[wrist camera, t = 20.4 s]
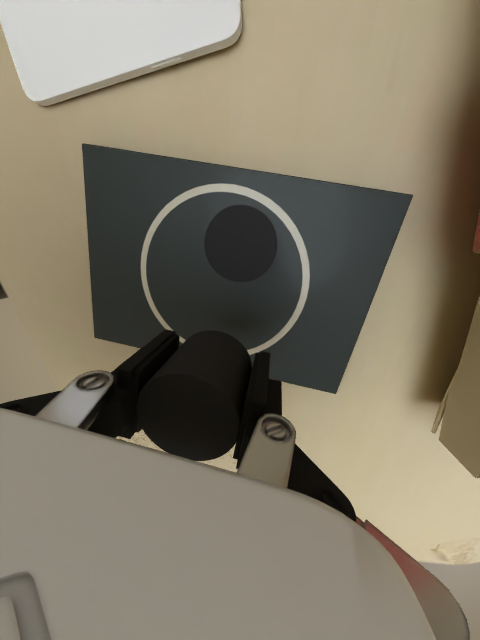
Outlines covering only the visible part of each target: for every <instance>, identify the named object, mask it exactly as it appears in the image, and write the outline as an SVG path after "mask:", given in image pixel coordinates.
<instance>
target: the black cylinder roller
mask: <svg viewBox="0 0 480 640" xmlns="http://www.w3.org/2000/svg"><path fill="white" fill-rule="evenodd" d="M251 371H252V362H251V358H250V355H249V353H248V351H247V350H246V348H245V347H244V346H243V345H242V343H240V342H239V341H238V340H237V339H236V338H234V337H233V336H231V335H229V334H227V333H224V332H221V331H215V330H207V331H201V332H198V333H195V334H193V335H192V336H190V337H189V338H188V339H187V340H186V341H185V342H184V343H183V344H182V345H181V346H180V347H179V348H178V349H177V350H176V351H175V353H174V354H173V355H172V356H171V357H170V358H169V359H168V360H167V361H166V362H165V363H164V365H163V366H162V367H161V368H160V369H159V370H158V371H157V372H156V373H155V374H154V375H153V377H152V378H151V379H150V380H149V381H148V382H147V383H146V384H145V385H144V386H143V388H142V389H141V391H140V393H139V395H138V399H137V404H136V411H137V417H138V420H139V423H140V425H141V427H142V429H143V430H144V432H145V434H146V435H147V436H148V437H149V438H150V439H151V440H152V441H153V442H154V443H155V444H156V445H157V446H158V447H160V448H161V449H163V450H164V451H166V452H168V453H170V454H173V455H176V456H180V457H183V458H187V459H190V460H194V461H206V460H212V459H215V458H218V457H220V456H222V455H224V454H226V453H227V452H228V451H229V450H230V449H231V448H232V447H233V446H234V445H235V443H236V441H237V439H238V436H239V431H240V423H241V419H242V414H243V409H244V404H245V400H246V395H247V390H248V385H249V381H250V376H251Z"/></svg>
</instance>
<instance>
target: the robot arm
mask: <svg viewBox="0 0 480 640" xmlns="http://www.w3.org/2000/svg"><path fill="white" fill-rule="evenodd" d="M179 339H180V336H179V335H177V332H176V331H171V330H167V329H165V330H164V331H162V332H161V333H160V334H159V335H157V336H156V337H155V338H154V339H152V340H151V341H150V342H148V343H147V344H146V345H145V346H143V347H142V348H141V349H140V350H138V351H137V352H136V353H135V354H133V355H132V356H131V357H130V358H128V359H127V360H126V361H125V362H123V363H122V364H121V365H119V366H118V367H117V368H116V369H115V370H114V371H113V372H111V373H110V372H107V371H100V370H97V371H90V372H86V373H83V374H81V375H79V376H78V377H76V378H75V379H74V380H73V381H72V382H71V383H69V384H68V385H67V386H66V387H65V388H64V389H63V390H62V391H57V392H53V393H47V394H43V395H38V396H34V397H28V398H24V399H19V400H15V401H10V402H6V403H2V404H0V640H470V631H469V627H468V623H467V619H466V617H465V615H464V613H463V611H462V609H461V607H460V605H459V603H458V602H457V600H456V599H455V598H454V596H453V595H452V593H451V592H450V591H449V589H447V587H445V586H444V585H443V584H442V583H441V582H440V581H439V580H438V579H437V578H436V577H435V576H434V575H433V574H431V573H430V572H429V571H428V570H426V569H425V568H424V567H423V566H422V565H421V564H419V563H418V562H417V561H416V560H415V559H413V558H412V557H411V556H410V555H409V554H407V553H406V552H405V551H404V550H403V549H401V548H400V547H399V546H398V545H397V544H395V543H394V542H393V541H392V540H391V539H389V538H388V537H387V536H386V535H385V534H383V533H382V532H381V531H380V530H379V529H377V528H376V527H375V526H374V525H372V524H371V523H370V522H369V521H368V520H365V522H363V521H362V520H360V519H359V518H358V517H357V516H356V514H355V511H354V508H353V506H352V504H351V503H350V501H349V500H348V498H347V497H346V496H345V495H344V493H343V492H342V491H341V490H340V489H339V488H338V487H337V486H336V485H335V484H334V483H333V482H332V481H331V480H330V479H329V478H328V477H327V476H326V475H325V474H324V473H323V472H322V471H321V470H320V469H319V468H318V467H317V466H316V465H315V464H314V463H313V462H312V461H311V459H310V458H309V457H308V456H307V455H306V454H305V453H304V452H303V451H302V450H301V449H300V448H299V447H298V446H297V445H296V444H295V439H296V431H295V428H294V426H293V425H292V423H291V422H290V421H289V420H287V419H286V418H285V417H283V416H282V390H281V381H278V380H273V379H269V367H270V354H271V353H268V352H264V351H260V353H255V358H254V362H253V367H252V371H251V376H250V381H249V385H248V390H247V395H246V400H245V404H244V409H243V414H242V419H241V423H240V431H239V436H238V439H237V441H236V446H235V450H234V455H233V458H234V459H237V460H238V461H237V466H236V469H238V471H237V473H235V472H232V471H228V470H225V469H221V468H218V467H214V466H211V465H207V464H204V463H201V462H197V461H194V460H190V459H187V458H183V457H180V456H176V455H173V454H169V453H165V452H162V451H158V450H155V449H151V448H148V447H144V446H141V445H137V444H133V443H130V442H126V441H123V440H119V439H116V437H117V436H121V437H124V438H128V439H131V437H132V436H133V435H134V433H135V432H139V431H140V430H141V429H142V427H141V425H140V423H139V420H138V417H137V411H136V404H137V399H138V395H139V393H140V391H141V389H142V388H143V386H144V385H145V384H146V383H147V382H148V381H149V380H150V379H151V378H152V377H153V375H154V374H155V373H156V372H157V371H158V370H159V369H160V368H161V367H162V366H163V365H164V363H165V362H166V361H167V360H168V359H169V358H170V357H171V356H172V355H173V354H174V353H175V351H176V350H177V349H178V348H179Z"/></svg>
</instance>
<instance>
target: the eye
mask: <svg viewBox="0 0 480 640" xmlns="http://www.w3.org/2000/svg"><path fill="white" fill-rule="evenodd" d="M204 247H205V253H206V256H207V259H208V261H209V263H210V265H211V267H212V268H213V269H214V270H215V271H216V272H217V273H218V274H219V275H220V276H222V277H224V278H225V279H228V280H230V281H234V282H248V281H251V280H254V279H256V278H258V277H260V276H261V275H263V274H264V273H265V272H266V271H267V270H268V269H269V267H270V266H271V264H272V262H273V260H274V258H275V255H276V251H277V236H276V232H275V229H274V226H273V225H272V223H271V221H270V220H269V218H268V217H267V216H266V215H265V214H264V213H263V212H261V211H260V210H258V209H257V208H254V207H252V206H248V205H233V206H230V207H227V208H225V209H223V210H221V211H220V212H219V213H217V214H216V215H215V216H214V218H213V219H212V220H211V222H210V223H209V225H208V227H207V230H206V233H205V239H204Z"/></svg>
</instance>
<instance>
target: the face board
mask: <svg viewBox="0 0 480 640" xmlns="http://www.w3.org/2000/svg"><path fill="white" fill-rule="evenodd" d="M82 151H83V166H84V182H85V197H86V213H87V229H88V244H89V260H90V276H91V291H92V307H93V322H94V337H95V338H98V339H103V340H107V341H111V342H116V343H120V344H124V345H128V346H133V347H137V348H142V347H143V346H145V345H146V344H147V343H148V342H150V341H151V340H152V339H154V338H155V337H156V336H157V335H159V334H160V333H161V332H162V331H164V330H165V329H167V330H171V331H176V332H177V335H179V336H180V339H179V347H180V346H181V345H182V344H183V343H184V342H185V341H186V340H187V339H188V338H189V337H190V336H192V335H193V334H195V333H198V332H201V331H207V330H215V331H221V332H224V333H227V334H229V335H231V336H233V337H234V338H236V339H237V340H238V341H239V342H240V343H242V345H243V346H244V347H245V348H246V350H247V351H248V353H249V355H250V358H251V362H252V367H253V362H254V358H255V353H260V351H264V352H268V353H271V354H270V367H269V379H274V380H278V381H282V382H287V383H291V384H295V385H299V386H304V387H308V388H312V389H316V390H321V391H325V392H329V393H334V394H336V392H337V390H338V387H339V385H340V382H341V380H342V377H343V374H344V372H345V369H346V367H347V364H348V362H349V359H350V356H351V354H352V351H353V349H354V346H355V344H356V341H357V338H358V336H359V333H360V331H361V328H362V326H363V323H364V320H365V318H366V315H367V313H368V310H369V308H370V305H371V302H372V300H373V297H374V295H375V292H376V290H377V287H378V284H379V282H380V279H381V277H382V274H383V271H384V269H385V266H386V264H387V261H388V259H389V256H390V253H391V251H392V248H393V246H394V243H395V241H396V238H397V235H398V233H399V230H400V228H401V225H402V223H403V220H404V217H405V215H406V212H407V210H408V207H409V205H410V202H411V199H412V197H413V195H409V194H403V193H397V192H390V191H384V190H377V189H371V188H365V187H358V186H352V185H345V184H339V183H333V182H326V181H320V180H313V179H307V178H301V177H294V176H288V175H281V174H275V173H269V172H262V171H256V170H249V169H243V168H237V167H230V166H224V165H218V164H211V163H205V162H198V161H192V160H186V159H179V158H173V157H166V156H160V155H154V154H147V153H141V152H134V151H128V150H122V149H115V148H109V147H102V146H96V145H90V144H82ZM233 205H248V206H252V207H254V208H257V209H258V210H260V211H261V212H263V213H264V214H265V215H266V216H267V217H268V218H269V220H270V221H271V223H272V225H273V226H274V229H275V232H276V236H277V251H276V255H275V258H274V260H273V262H272V264H271V266H270V267H269V269H268V270H267V271H266V272H265V273H264V274H263V275H261V276H260V277H258V278H256V279H254V280H251V281H248V282H234V281H230V280H228V279H225V278H224V277H222V276H220V275H219V274H218V273H217V272H216V271H215V270H214V269H213V268H212V267H211V265H210V263H209V261H208V259H207V256H206V253H205V247H204V239H205V233H206V230H207V227H208V225H209V223H210V222H211V220H212V219H213V218H214V216H215V215H216V214H217V213H219V212H220V211H221V210H223V209H225V208H227V207H230V206H233Z"/></svg>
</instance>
